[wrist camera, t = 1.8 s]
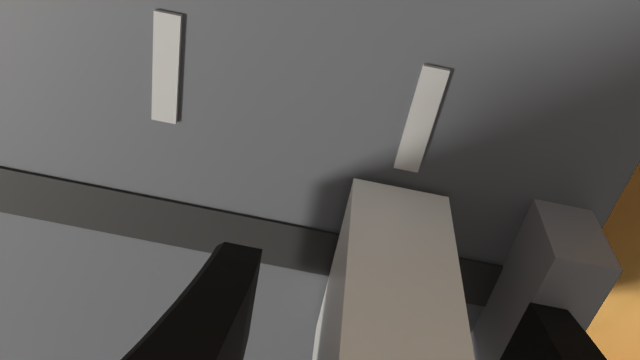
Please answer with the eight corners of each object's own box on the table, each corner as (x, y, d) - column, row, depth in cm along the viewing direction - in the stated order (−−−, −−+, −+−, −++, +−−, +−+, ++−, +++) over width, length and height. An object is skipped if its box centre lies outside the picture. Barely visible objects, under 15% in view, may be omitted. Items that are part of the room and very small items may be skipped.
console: (433, 447, 17) (443, 582, 14) (-122, 341, 17) (-230, 457, 14) (755, -212, 8) (960, -215, 5) (-405, -462, 8) (-866, -612, 5)
